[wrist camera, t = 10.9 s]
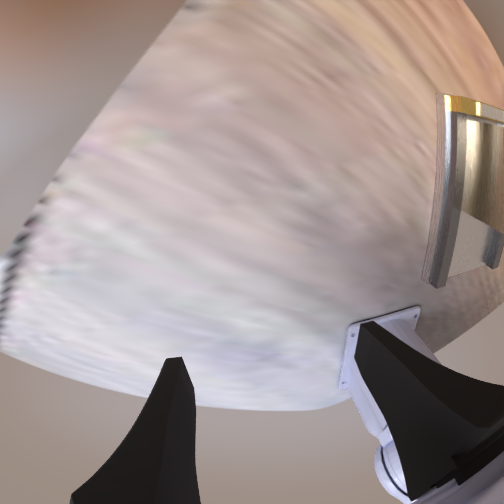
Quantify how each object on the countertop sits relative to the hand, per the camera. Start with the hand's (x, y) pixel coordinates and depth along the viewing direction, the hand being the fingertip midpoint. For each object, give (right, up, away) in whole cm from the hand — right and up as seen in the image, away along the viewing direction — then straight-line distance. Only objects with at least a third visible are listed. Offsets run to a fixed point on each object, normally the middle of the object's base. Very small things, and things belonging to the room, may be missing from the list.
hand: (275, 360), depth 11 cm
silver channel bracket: (+19, +10, +9) cm, 23 cm away
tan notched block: (+19, +11, +7) cm, 23 cm away
